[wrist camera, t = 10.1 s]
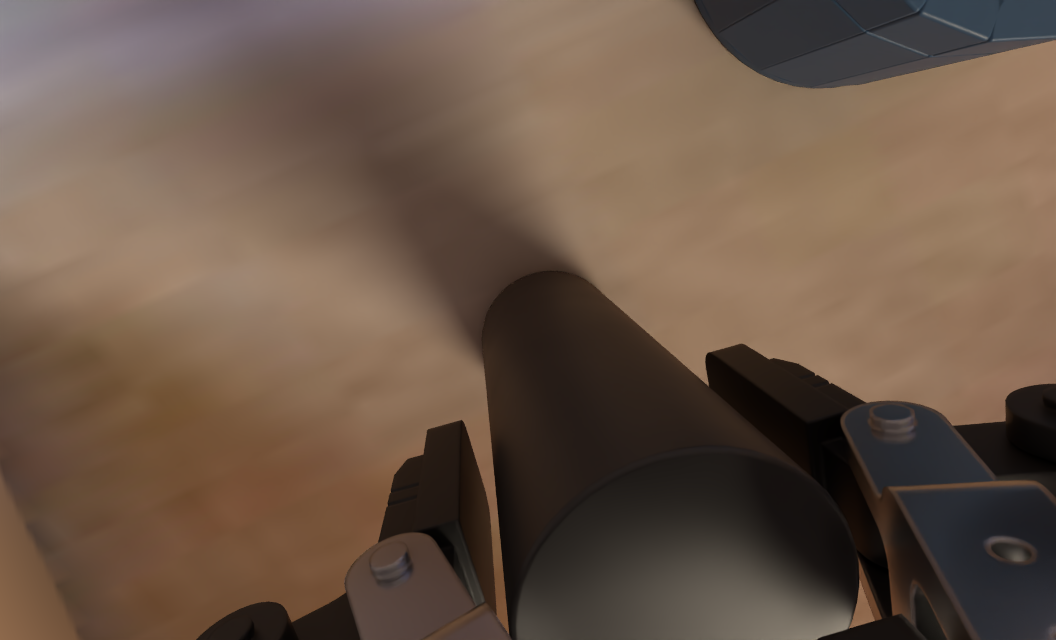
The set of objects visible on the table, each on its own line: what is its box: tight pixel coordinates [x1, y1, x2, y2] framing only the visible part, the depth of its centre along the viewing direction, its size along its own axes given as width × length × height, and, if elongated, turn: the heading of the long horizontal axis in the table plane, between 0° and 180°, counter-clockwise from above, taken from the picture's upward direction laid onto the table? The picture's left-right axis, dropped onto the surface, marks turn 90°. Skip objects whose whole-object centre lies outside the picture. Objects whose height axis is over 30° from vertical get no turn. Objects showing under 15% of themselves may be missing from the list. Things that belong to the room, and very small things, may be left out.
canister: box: [482, 271, 859, 640], centre depth 13 cm, size 4×4×12 cm
